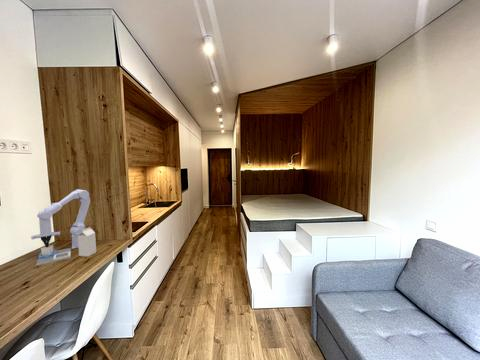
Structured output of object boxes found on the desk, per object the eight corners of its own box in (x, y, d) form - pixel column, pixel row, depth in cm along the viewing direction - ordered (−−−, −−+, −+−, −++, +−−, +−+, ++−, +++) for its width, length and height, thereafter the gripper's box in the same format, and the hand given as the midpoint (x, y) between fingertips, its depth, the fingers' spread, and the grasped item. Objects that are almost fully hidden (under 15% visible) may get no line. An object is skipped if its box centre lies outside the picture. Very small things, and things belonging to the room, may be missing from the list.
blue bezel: (56, 250, 153) (56, 249, 153) (55, 255, 144) (55, 254, 144) (40, 254, 147) (40, 252, 147) (38, 259, 139) (38, 257, 139)
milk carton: (96, 252, 151) (94, 227, 149) (88, 257, 144) (86, 230, 142) (87, 252, 152) (85, 226, 150) (79, 256, 145) (77, 230, 143)
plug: (53, 253, 148) (53, 245, 148) (48, 256, 144) (48, 247, 143) (46, 253, 148) (46, 245, 147) (41, 256, 143) (41, 248, 143)
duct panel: (71, 248, 158) (70, 246, 158) (70, 258, 142) (70, 256, 141) (40, 254, 147) (39, 252, 147) (35, 266, 131) (35, 263, 131)
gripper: (59, 224, 152) (61, 242, 153) (31, 228, 143) (33, 247, 144) (59, 226, 146) (60, 245, 147) (30, 231, 137) (31, 251, 138)
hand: (47, 246), depth 145 cm, fingers closed, pressing on plug
